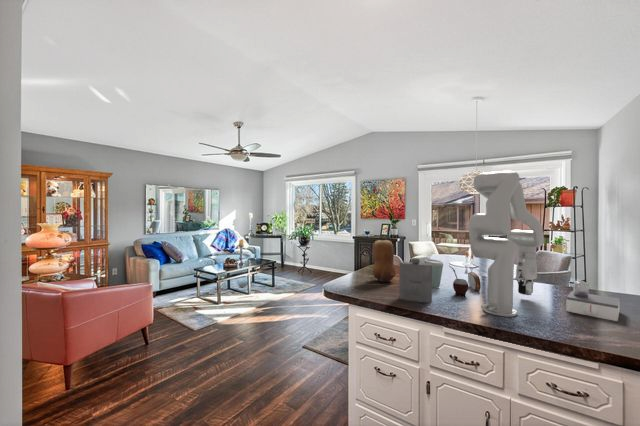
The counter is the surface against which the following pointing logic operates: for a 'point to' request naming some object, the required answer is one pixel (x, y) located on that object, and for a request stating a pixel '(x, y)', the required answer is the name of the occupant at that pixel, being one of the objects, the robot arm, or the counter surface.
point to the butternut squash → (384, 261)
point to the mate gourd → (460, 286)
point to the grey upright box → (415, 281)
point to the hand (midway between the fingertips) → (525, 292)
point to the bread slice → (474, 281)
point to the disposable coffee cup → (435, 271)
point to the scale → (594, 306)
